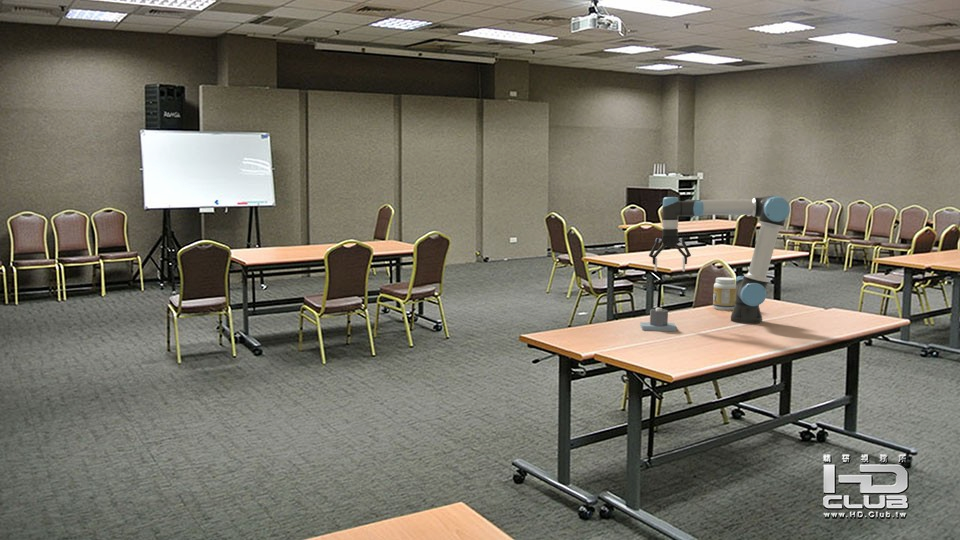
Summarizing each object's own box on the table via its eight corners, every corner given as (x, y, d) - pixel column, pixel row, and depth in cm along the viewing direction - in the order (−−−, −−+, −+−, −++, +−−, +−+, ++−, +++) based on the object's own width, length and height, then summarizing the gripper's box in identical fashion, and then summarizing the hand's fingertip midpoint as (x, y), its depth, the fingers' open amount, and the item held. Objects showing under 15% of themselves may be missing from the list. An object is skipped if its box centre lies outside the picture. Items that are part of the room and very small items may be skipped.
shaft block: (673, 327, 388) (674, 306, 387) (676, 331, 378) (677, 310, 377) (640, 326, 390) (641, 306, 389) (642, 330, 380) (643, 309, 379)
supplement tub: (710, 306, 447) (712, 276, 445) (733, 307, 446) (734, 277, 444) (715, 310, 435) (716, 279, 433) (737, 310, 434) (739, 280, 432)
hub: (665, 323, 387) (666, 309, 387) (668, 326, 380) (668, 311, 379) (649, 322, 388) (649, 308, 387) (651, 325, 380) (651, 311, 380)
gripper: (694, 227, 396) (693, 269, 399) (643, 228, 398) (643, 270, 400) (697, 228, 389) (696, 271, 391) (645, 229, 390) (645, 272, 393)
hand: (669, 271), depth 396 cm, fingers open, 13 cm apart
